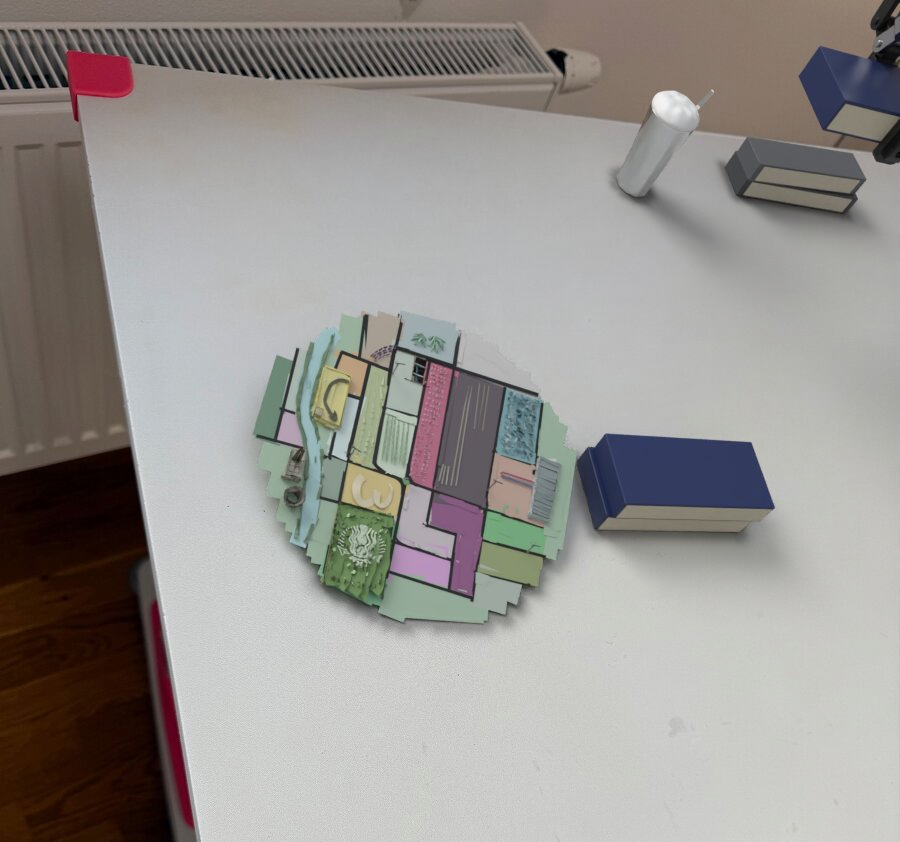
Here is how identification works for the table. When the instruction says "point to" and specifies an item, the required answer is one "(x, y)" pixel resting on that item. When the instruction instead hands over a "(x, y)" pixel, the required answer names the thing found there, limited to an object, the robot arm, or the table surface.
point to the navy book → (852, 94)
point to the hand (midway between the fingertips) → (867, 129)
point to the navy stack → (673, 484)
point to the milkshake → (658, 140)
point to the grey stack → (795, 174)
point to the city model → (416, 466)
